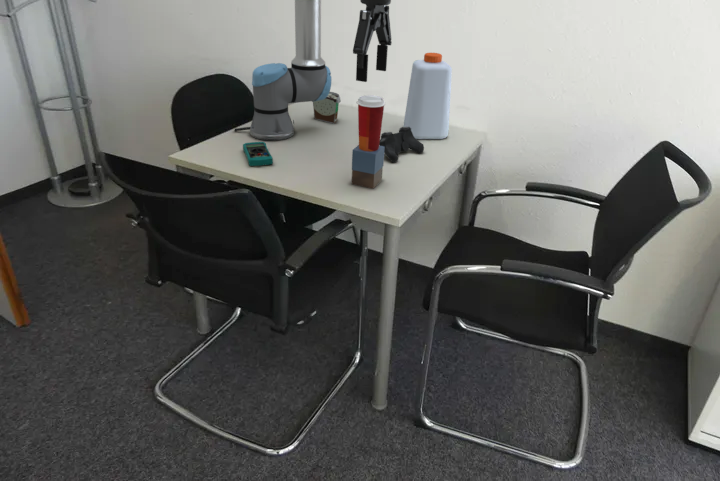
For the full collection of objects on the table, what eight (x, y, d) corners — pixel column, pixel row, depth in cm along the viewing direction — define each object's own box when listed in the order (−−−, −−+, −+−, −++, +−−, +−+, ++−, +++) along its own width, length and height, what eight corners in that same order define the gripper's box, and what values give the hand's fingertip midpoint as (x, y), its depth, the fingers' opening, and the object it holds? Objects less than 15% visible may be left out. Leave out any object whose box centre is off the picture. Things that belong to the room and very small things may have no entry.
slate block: (351, 169, 149) (352, 149, 146) (361, 161, 155) (362, 142, 152) (374, 174, 147) (375, 154, 144) (383, 166, 153) (384, 146, 150)
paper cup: (383, 144, 151) (386, 95, 144) (381, 153, 144) (384, 103, 137) (356, 142, 152) (358, 93, 145) (353, 151, 145) (355, 101, 138)
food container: (346, 120, 203) (347, 94, 198) (337, 124, 198) (338, 98, 193) (320, 114, 208) (320, 89, 203) (311, 118, 204) (311, 92, 199)
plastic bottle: (440, 126, 201) (449, 50, 187) (450, 140, 188) (461, 59, 174) (401, 126, 199) (407, 49, 185) (409, 140, 186) (416, 58, 172)
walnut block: (351, 184, 152) (351, 169, 149) (360, 175, 157) (361, 161, 155) (373, 188, 149) (374, 174, 147) (381, 180, 155) (382, 166, 153)
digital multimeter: (249, 167, 159) (248, 158, 158) (243, 150, 171) (242, 141, 170) (273, 165, 161) (273, 156, 160) (265, 149, 173) (265, 140, 172)
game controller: (412, 155, 181) (404, 126, 179) (426, 151, 176) (418, 121, 174) (379, 166, 171) (370, 136, 169) (393, 162, 166) (384, 131, 164)
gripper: (371, -9, 116) (366, 88, 127) (407, -16, 136) (400, 68, 147) (340, -12, 119) (338, 83, 129) (380, -19, 138) (376, 64, 149)
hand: (371, 75), depth 138 cm, fingers open, 13 cm apart
